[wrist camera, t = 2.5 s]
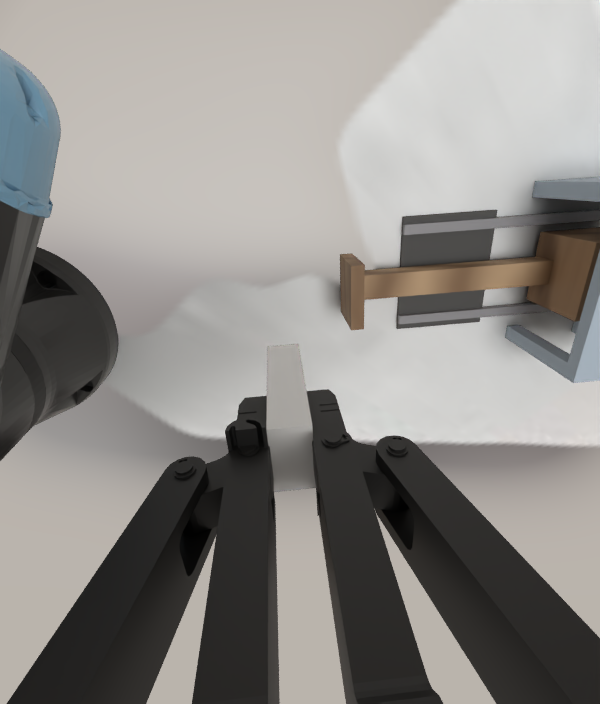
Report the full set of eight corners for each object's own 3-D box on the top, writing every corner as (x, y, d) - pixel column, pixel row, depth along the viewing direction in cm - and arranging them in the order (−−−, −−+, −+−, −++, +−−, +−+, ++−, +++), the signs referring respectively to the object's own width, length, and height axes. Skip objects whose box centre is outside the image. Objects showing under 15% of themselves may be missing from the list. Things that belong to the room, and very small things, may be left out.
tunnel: (395, 347, 36) (432, 396, 28) (404, 190, 30) (455, 195, 22) (668, 322, 37) (781, 363, 29) (730, 167, 31) (893, 163, 23)
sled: (339, 314, 33) (353, 341, 28) (338, 247, 31) (353, 261, 25) (588, 293, 34) (647, 315, 29) (607, 226, 32) (676, 236, 26)
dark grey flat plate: (396, 328, 35) (397, 328, 35) (402, 216, 31) (403, 216, 30) (478, 320, 35) (479, 321, 35) (495, 209, 31) (497, 210, 31)
